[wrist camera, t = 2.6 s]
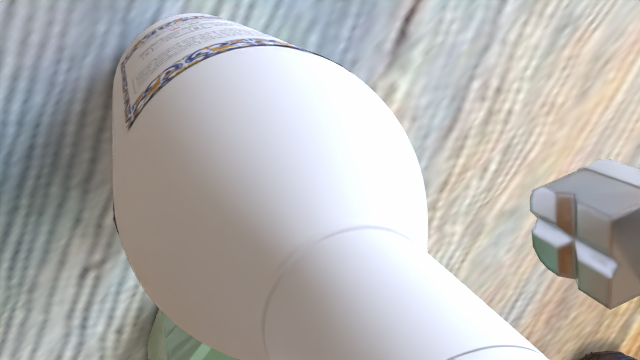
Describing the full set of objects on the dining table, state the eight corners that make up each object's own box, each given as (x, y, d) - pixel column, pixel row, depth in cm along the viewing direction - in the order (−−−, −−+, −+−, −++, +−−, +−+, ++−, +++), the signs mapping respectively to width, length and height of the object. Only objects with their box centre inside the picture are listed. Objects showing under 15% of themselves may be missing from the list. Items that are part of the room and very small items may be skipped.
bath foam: (255, 179, 25) (593, 660, 7) (101, 157, 22) (56, 868, 4) (290, 35, 23) (851, 225, 6) (127, -9, 20) (222, 97, 3)
